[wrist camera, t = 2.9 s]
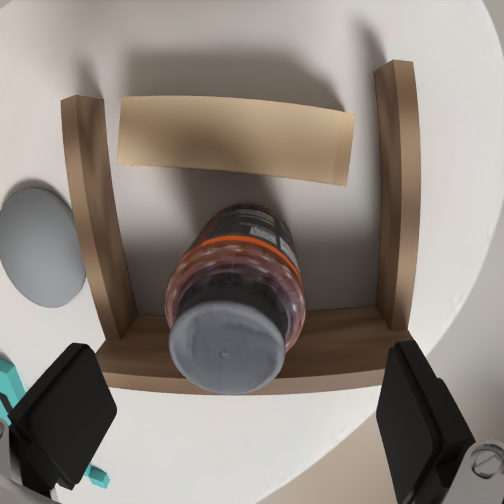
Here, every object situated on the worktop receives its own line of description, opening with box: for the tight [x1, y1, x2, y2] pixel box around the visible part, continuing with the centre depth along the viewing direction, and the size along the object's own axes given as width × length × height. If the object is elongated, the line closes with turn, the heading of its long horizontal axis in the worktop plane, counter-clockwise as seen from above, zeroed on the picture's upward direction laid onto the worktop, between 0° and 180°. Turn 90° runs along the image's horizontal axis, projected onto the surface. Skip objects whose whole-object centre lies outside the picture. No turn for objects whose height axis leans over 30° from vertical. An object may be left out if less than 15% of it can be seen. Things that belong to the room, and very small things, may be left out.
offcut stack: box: [117, 96, 355, 186], centre depth 17 cm, size 4×13×4 cm, turn 84°
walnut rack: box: [61, 60, 421, 395], centre depth 17 cm, size 17×20×7 cm
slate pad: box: [0, 188, 86, 308], centre depth 22 cm, size 10×10×1 cm
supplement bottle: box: [164, 204, 306, 395], centre depth 15 cm, size 6×6×11 cm
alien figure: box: [0, 359, 110, 489], centre depth 30 cm, size 20×2×20 cm
